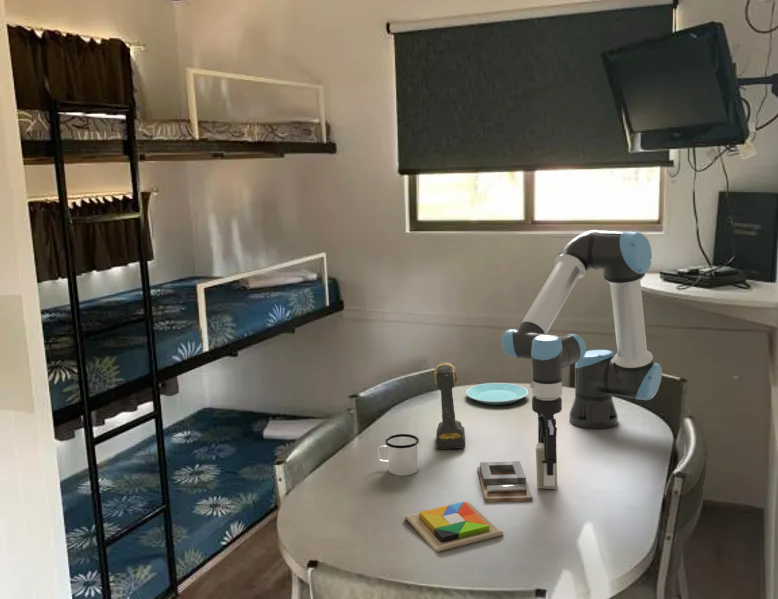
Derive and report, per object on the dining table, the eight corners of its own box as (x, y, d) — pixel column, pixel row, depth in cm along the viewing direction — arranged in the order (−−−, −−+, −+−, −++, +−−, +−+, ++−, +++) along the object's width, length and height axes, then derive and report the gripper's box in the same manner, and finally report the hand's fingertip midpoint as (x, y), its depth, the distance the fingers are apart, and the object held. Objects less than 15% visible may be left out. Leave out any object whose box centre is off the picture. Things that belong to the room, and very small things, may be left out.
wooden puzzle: (438, 556, 171) (438, 541, 170) (402, 521, 188) (402, 507, 187) (505, 538, 178) (505, 524, 177) (465, 506, 195) (465, 493, 194)
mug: (423, 465, 220) (422, 435, 218) (414, 478, 211) (413, 447, 209) (384, 461, 224) (383, 431, 222) (373, 474, 215) (371, 443, 213)
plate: (463, 408, 269) (463, 400, 268) (468, 389, 290) (467, 382, 290) (528, 409, 265) (528, 401, 264) (527, 390, 286) (527, 382, 286)
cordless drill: (465, 428, 248) (463, 353, 243) (465, 452, 228) (463, 370, 224) (437, 428, 249) (435, 353, 244) (434, 452, 229) (432, 371, 225)
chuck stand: (520, 469, 215) (520, 459, 214) (532, 500, 195) (532, 489, 194) (477, 470, 215) (477, 460, 214) (485, 502, 195) (484, 491, 195)
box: (557, 482, 204) (557, 443, 202) (556, 489, 200) (556, 449, 198) (537, 481, 206) (537, 442, 203) (536, 488, 201) (535, 448, 199)
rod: (525, 489, 199) (525, 483, 199) (527, 492, 197) (527, 486, 197) (487, 490, 199) (487, 484, 199) (487, 493, 198) (487, 487, 197)
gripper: (526, 385, 207) (527, 467, 212) (538, 408, 189) (538, 496, 194) (554, 384, 207) (554, 466, 211) (568, 407, 189) (568, 495, 194)
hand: (547, 480), depth 203 cm, fingers closed on box, 5 cm apart
